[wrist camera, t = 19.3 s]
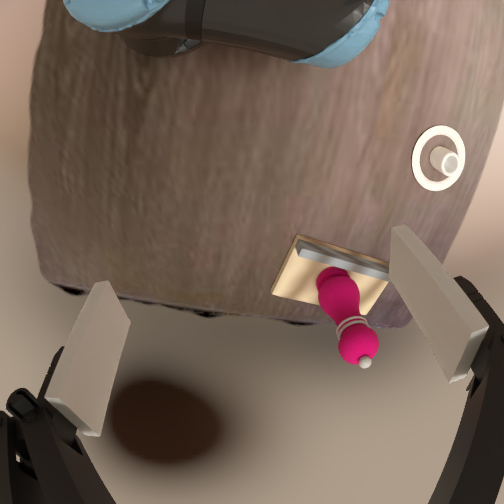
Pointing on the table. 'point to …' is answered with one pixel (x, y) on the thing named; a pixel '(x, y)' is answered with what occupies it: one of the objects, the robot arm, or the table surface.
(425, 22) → the table surface
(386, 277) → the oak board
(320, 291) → the pepper mill
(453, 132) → the candle holder
